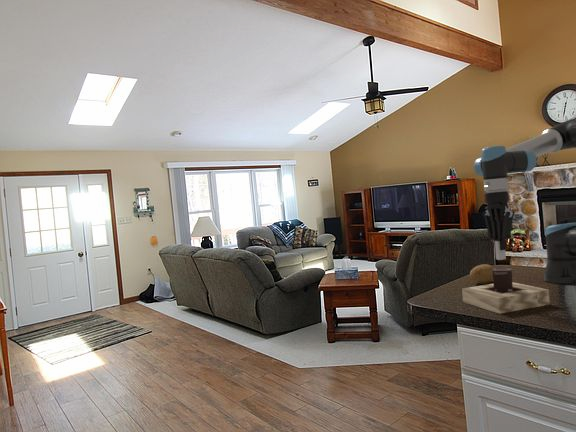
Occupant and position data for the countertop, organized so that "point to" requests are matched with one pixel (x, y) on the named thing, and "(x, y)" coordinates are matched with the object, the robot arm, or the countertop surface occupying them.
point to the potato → (482, 274)
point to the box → (502, 280)
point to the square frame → (506, 297)
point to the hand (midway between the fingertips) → (501, 259)
